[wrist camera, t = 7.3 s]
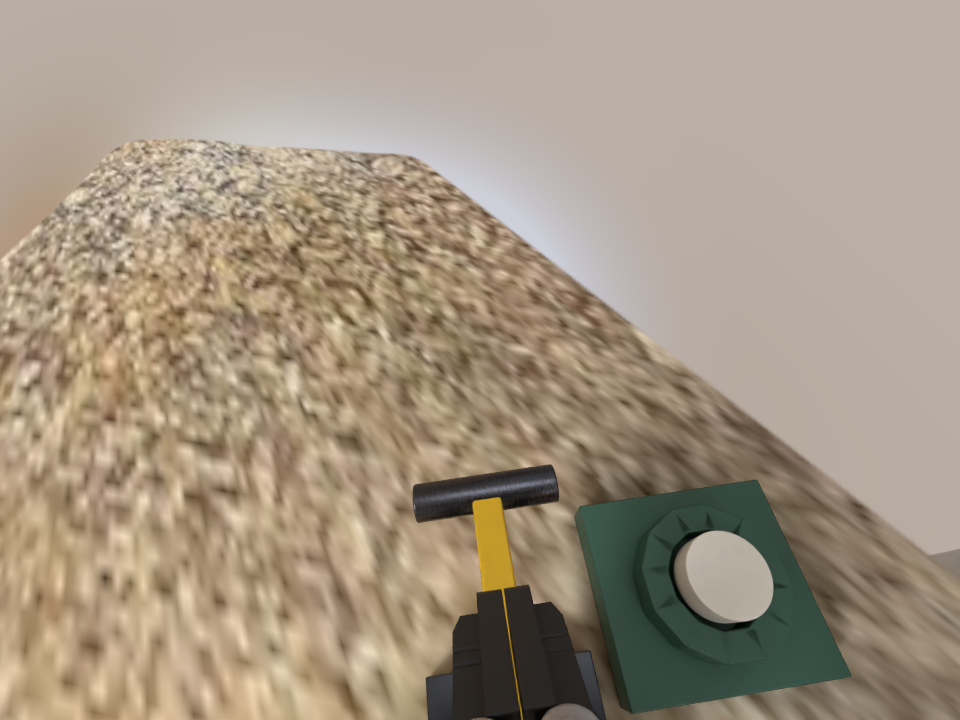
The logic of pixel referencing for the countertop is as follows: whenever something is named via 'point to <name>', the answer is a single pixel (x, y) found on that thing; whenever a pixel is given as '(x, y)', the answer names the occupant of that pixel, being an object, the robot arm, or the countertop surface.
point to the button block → (677, 627)
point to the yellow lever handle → (488, 514)
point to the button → (723, 578)
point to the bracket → (443, 690)
